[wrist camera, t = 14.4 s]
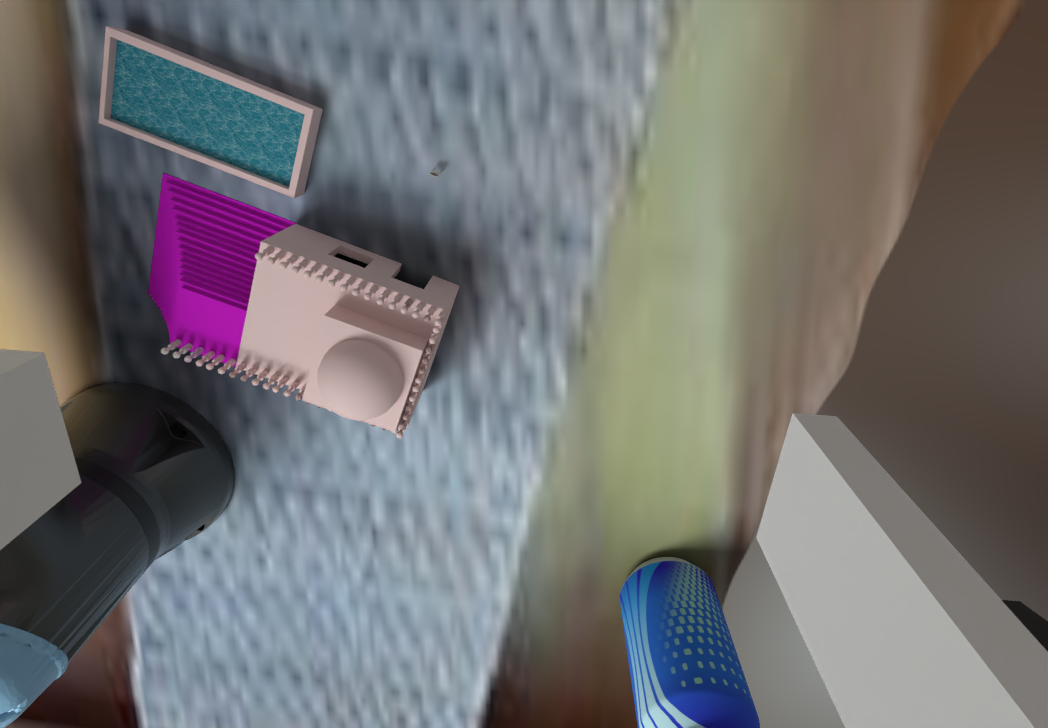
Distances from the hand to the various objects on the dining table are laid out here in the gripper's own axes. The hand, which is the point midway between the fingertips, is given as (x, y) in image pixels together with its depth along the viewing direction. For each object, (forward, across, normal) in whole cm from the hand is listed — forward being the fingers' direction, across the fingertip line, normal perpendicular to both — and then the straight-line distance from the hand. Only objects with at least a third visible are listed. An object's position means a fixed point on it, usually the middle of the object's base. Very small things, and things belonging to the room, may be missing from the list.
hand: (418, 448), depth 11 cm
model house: (+33, -16, -4) cm, 37 cm away
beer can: (+33, +16, -34) cm, 50 cm away
